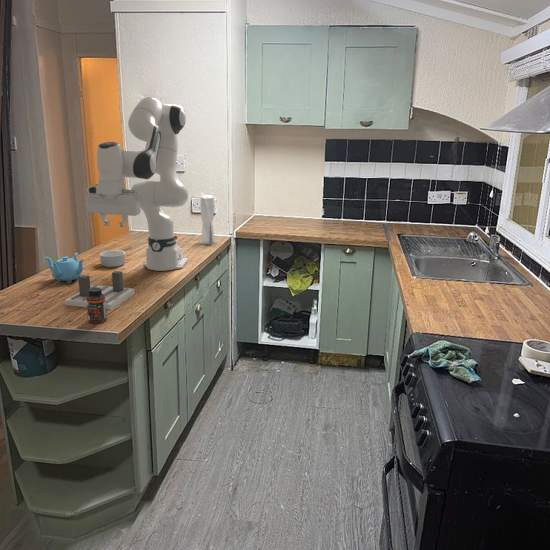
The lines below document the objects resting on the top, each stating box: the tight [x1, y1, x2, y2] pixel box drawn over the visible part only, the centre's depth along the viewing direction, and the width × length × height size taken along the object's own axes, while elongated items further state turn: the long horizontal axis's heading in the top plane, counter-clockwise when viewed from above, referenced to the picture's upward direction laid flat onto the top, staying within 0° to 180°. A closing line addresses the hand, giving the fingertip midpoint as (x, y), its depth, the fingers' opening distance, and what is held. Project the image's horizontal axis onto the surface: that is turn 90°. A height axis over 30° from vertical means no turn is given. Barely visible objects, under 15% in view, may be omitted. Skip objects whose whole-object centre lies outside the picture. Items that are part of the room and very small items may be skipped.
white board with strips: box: [64, 284, 136, 311], centre depth 189 cm, size 18×18×3 cm
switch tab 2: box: [111, 270, 125, 292], centre depth 191 cm, size 2×3×8 cm
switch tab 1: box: [77, 274, 91, 297], centre depth 186 cm, size 2×3×8 cm
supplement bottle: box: [86, 287, 107, 324], centre depth 168 cm, size 6×6×11 cm
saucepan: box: [98, 246, 133, 268], centre depth 236 cm, size 12×20×6 cm, turn 159°
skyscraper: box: [199, 192, 218, 246], centre depth 273 cm, size 8×8×28 cm
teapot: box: [44, 252, 85, 284], centre depth 209 cm, size 13×13×10 cm
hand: (114, 226), depth 186 cm, fingers open, 5 cm apart
